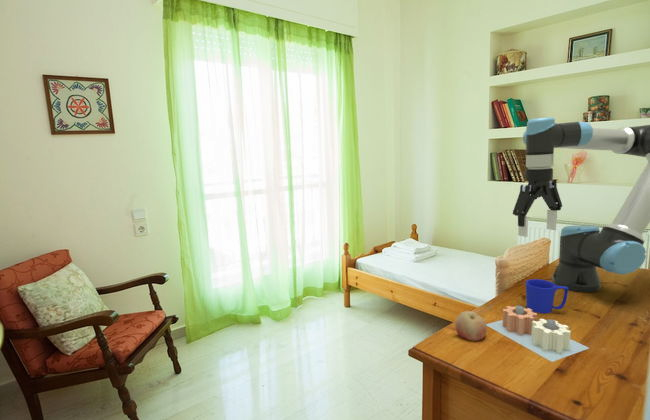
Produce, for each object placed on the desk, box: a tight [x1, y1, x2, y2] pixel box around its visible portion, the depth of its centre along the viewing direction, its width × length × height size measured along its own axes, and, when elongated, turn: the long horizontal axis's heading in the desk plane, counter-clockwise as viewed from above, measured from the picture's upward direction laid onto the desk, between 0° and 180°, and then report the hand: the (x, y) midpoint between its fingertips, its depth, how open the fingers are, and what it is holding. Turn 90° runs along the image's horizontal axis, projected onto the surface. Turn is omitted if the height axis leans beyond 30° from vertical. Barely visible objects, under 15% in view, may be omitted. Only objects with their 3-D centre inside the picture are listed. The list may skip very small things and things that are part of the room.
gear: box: [531, 318, 571, 353], centre depth 94 cm, size 9×9×5 cm
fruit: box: [454, 310, 488, 342], centre depth 101 cm, size 8×8×8 cm
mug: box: [525, 278, 569, 314], centre depth 114 cm, size 8×12×10 cm
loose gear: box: [502, 305, 538, 335], centre depth 103 cm, size 9×9×5 cm
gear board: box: [486, 305, 590, 363], centre depth 99 cm, size 14×21×8 cm, turn 21°
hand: (537, 232), depth 116 cm, fingers open, 13 cm apart
